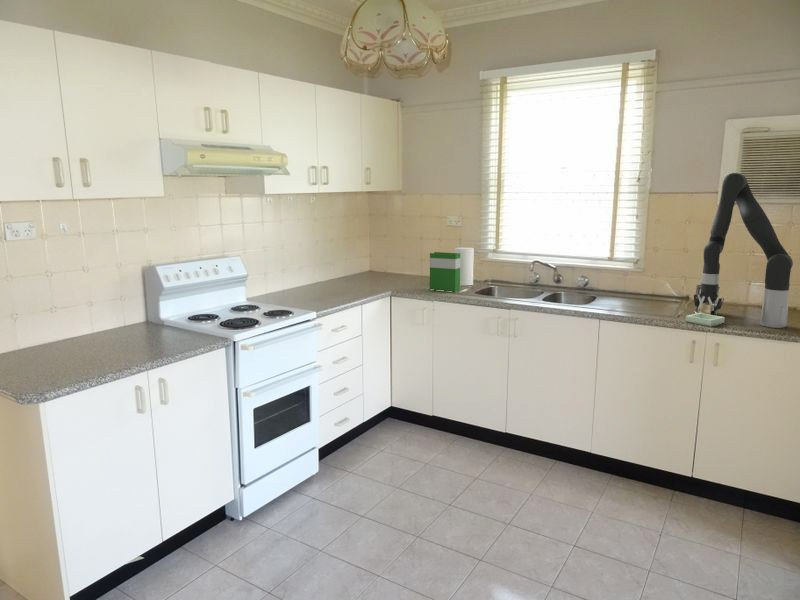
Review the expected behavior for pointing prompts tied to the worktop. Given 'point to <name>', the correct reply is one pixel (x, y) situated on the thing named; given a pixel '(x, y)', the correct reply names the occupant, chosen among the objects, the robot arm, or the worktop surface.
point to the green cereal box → (445, 271)
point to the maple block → (705, 308)
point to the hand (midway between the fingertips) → (706, 316)
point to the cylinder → (466, 265)
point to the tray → (704, 319)
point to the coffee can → (700, 298)
